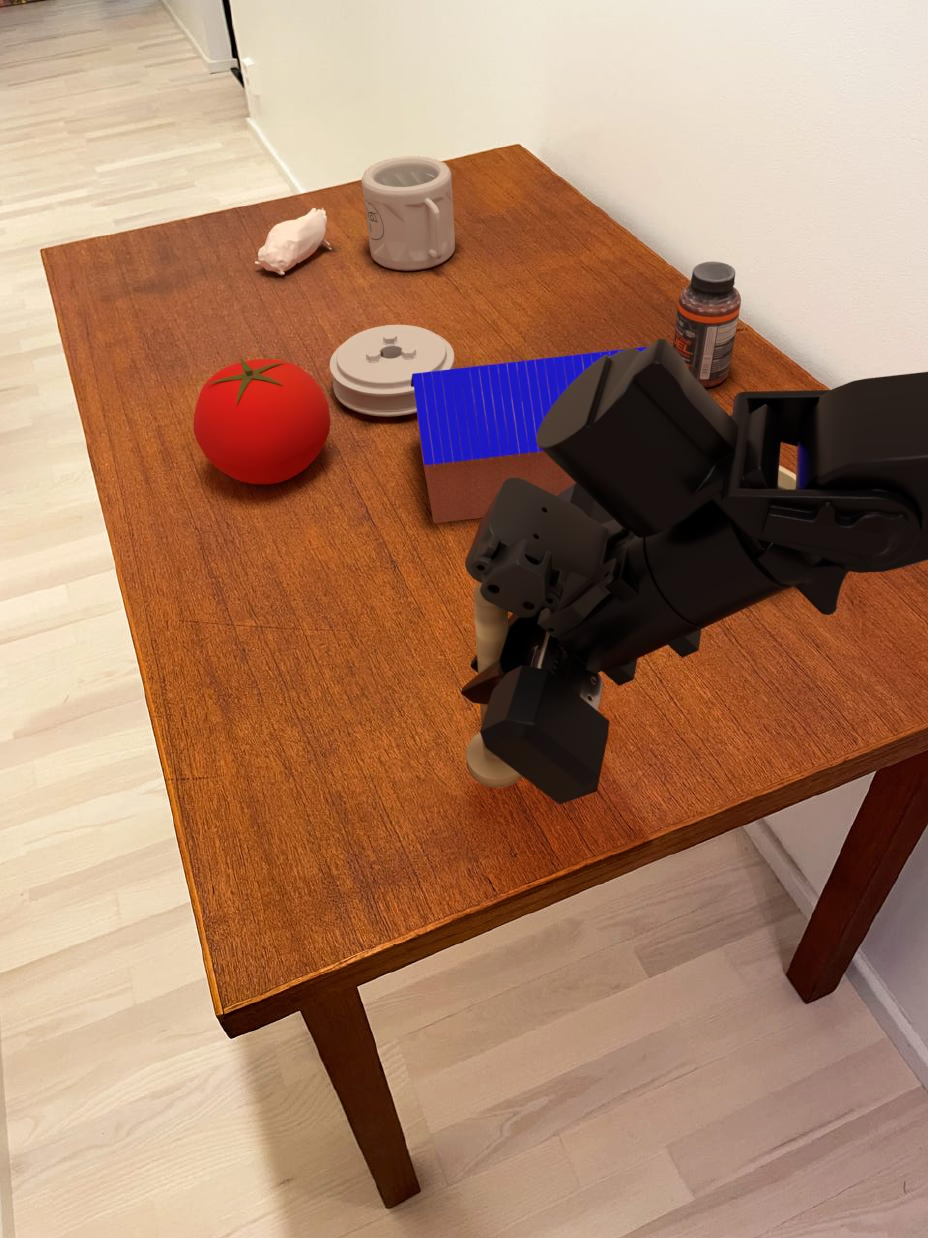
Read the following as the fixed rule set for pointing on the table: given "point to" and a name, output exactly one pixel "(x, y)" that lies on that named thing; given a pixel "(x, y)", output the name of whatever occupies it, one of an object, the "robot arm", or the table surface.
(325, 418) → the tomato
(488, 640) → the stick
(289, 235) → the pale pink lumpy figure
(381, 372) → the lid
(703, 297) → the supplement bottle
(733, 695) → the table surface
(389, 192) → the mug
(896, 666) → the table surface
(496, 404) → the house
